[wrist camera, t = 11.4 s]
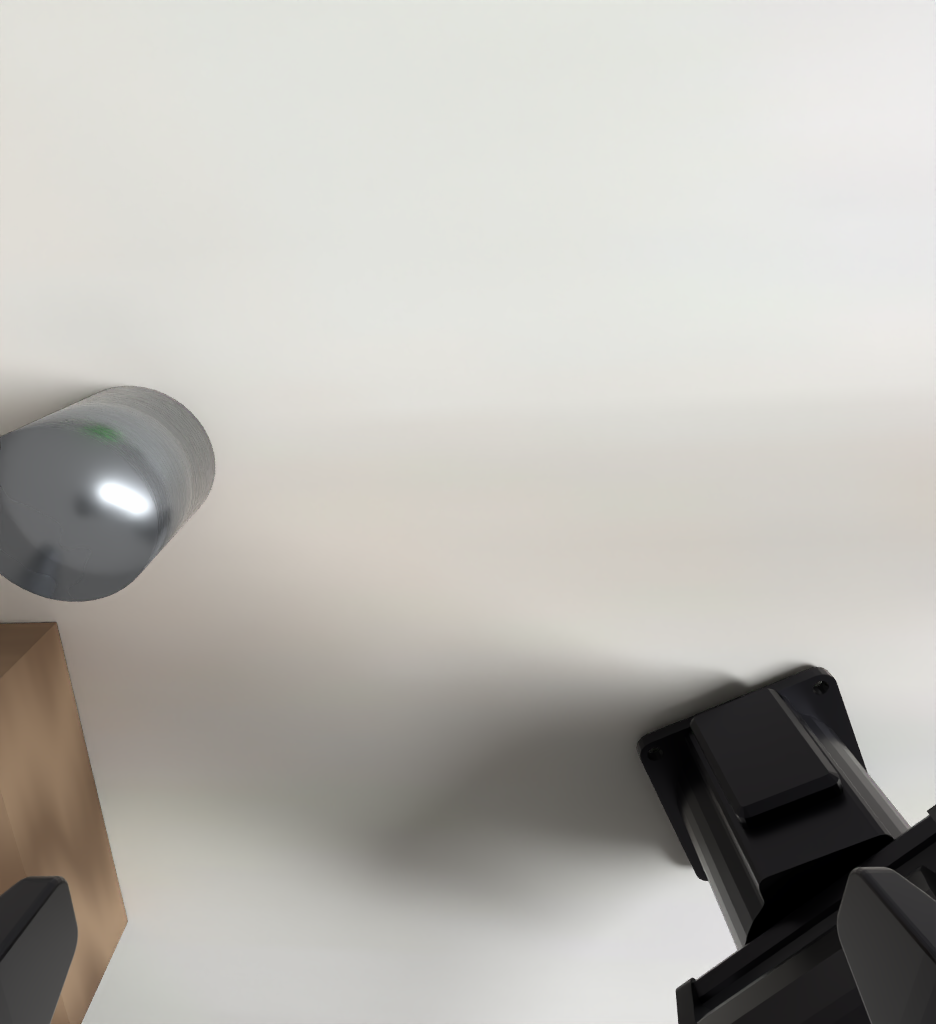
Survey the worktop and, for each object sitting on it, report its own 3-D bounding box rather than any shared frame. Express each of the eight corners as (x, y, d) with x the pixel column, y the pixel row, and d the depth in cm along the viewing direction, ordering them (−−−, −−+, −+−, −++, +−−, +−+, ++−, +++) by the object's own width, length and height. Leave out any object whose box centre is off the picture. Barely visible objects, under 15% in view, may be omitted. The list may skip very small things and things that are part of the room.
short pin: (243, 490, 20) (191, 556, 16) (122, 549, 21) (40, 628, 16) (160, 360, 19) (81, 394, 15) (33, 425, 19) (-80, 477, 15)
